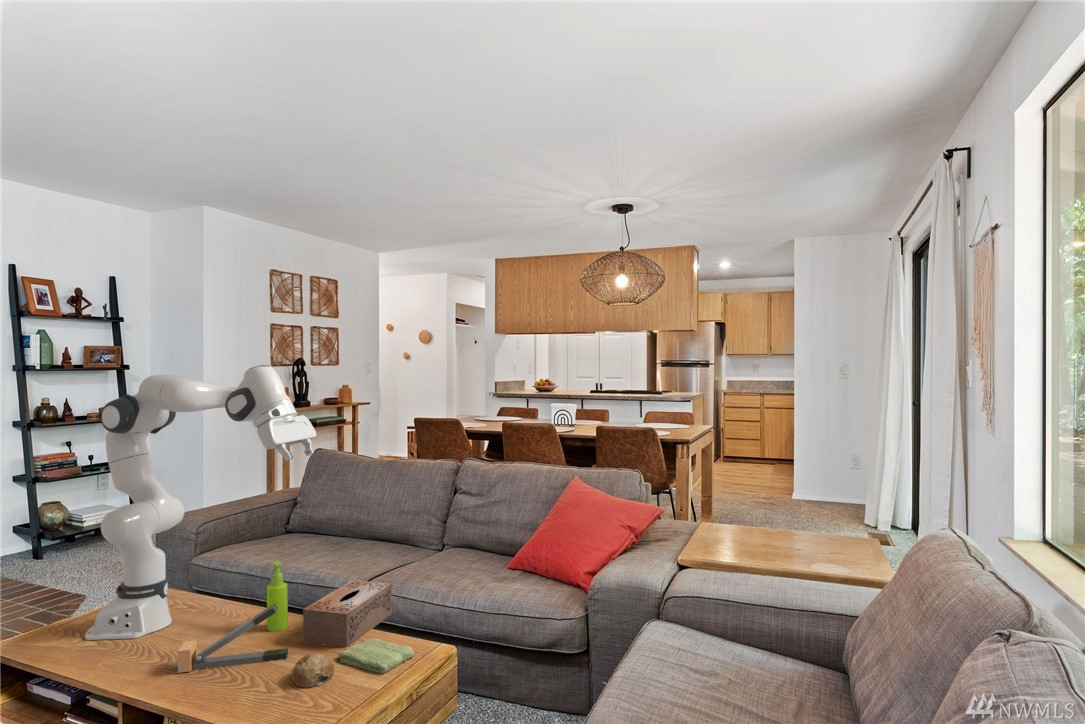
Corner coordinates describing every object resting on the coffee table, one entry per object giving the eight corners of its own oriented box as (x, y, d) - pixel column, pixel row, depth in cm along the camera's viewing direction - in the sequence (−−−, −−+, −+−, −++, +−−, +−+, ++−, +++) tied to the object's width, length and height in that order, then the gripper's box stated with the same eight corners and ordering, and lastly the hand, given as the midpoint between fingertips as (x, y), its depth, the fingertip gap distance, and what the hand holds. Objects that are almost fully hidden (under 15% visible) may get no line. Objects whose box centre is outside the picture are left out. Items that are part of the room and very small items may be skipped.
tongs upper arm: (197, 663, 170) (193, 658, 169) (200, 657, 173) (197, 652, 173) (275, 612, 174) (272, 607, 174) (277, 608, 178) (274, 603, 177)
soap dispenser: (281, 621, 201) (281, 558, 201) (290, 627, 196) (290, 562, 196) (262, 627, 197) (262, 562, 197) (271, 633, 192) (271, 567, 192)
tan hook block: (178, 672, 167) (177, 651, 167) (184, 662, 173) (184, 641, 173) (190, 671, 168) (190, 649, 168) (197, 661, 174) (196, 640, 174)
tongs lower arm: (173, 672, 168) (173, 665, 168) (177, 666, 171) (177, 660, 171) (286, 659, 175) (286, 652, 175) (288, 653, 178) (287, 647, 178)
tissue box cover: (347, 648, 182) (346, 613, 182) (303, 643, 186) (303, 609, 186) (391, 614, 206) (391, 583, 207) (352, 610, 210) (352, 579, 210)
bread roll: (303, 705, 158) (312, 679, 156) (280, 678, 163) (288, 652, 161) (336, 687, 166) (344, 663, 165) (312, 662, 171) (320, 638, 170)
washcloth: (370, 644, 185) (370, 633, 185) (416, 658, 176) (416, 646, 176) (335, 662, 174) (335, 651, 174) (382, 678, 165) (382, 666, 165)
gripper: (294, 417, 197) (313, 456, 195) (247, 423, 177) (268, 467, 175) (309, 407, 196) (329, 447, 194) (264, 412, 176) (286, 457, 174)
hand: (300, 457), depth 184 cm, fingers open, 8 cm apart
